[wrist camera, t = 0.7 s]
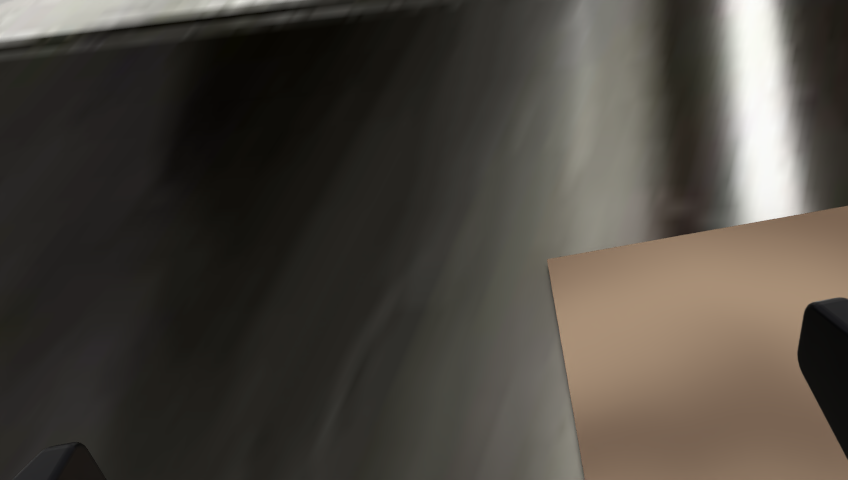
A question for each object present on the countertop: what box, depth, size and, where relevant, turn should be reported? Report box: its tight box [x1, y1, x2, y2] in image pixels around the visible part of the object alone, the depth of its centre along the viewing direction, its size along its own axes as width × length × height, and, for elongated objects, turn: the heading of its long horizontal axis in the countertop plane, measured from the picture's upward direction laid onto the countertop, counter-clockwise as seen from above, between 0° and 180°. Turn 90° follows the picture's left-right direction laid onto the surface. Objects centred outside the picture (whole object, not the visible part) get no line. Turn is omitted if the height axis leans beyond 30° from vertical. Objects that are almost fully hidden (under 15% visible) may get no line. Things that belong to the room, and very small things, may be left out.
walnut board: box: [547, 206, 848, 480], centre depth 20 cm, size 14×14×1 cm
